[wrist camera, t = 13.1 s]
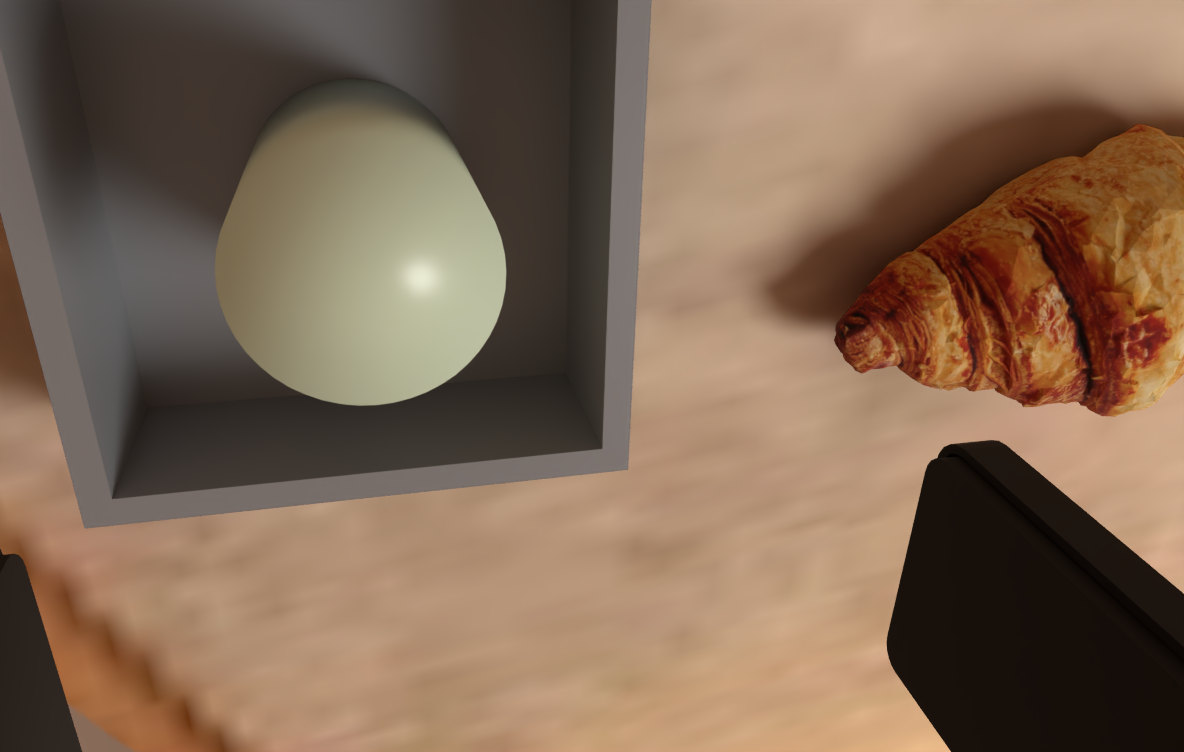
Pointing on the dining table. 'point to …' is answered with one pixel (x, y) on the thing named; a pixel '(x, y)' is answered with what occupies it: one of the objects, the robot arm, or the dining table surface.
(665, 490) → the dining table surface
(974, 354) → the croissant
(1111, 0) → the dining table surface
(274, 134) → the pale green rounded block
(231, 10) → the bin
